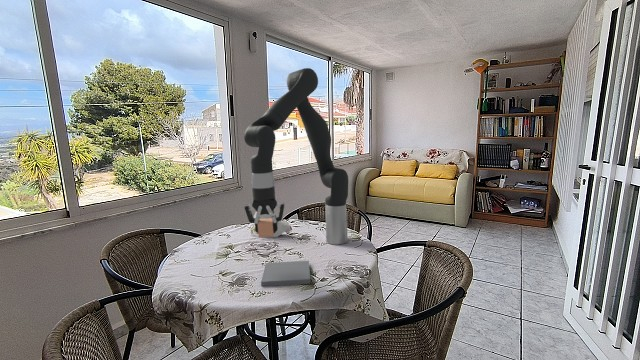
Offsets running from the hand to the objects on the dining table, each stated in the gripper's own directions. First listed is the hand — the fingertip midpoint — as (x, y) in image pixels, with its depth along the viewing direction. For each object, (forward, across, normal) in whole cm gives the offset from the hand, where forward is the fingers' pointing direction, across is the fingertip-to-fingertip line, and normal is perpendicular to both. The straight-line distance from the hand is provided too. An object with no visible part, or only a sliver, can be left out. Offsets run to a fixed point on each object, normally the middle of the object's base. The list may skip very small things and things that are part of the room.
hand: (266, 232), depth 105 cm
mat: (+15, -6, +3) cm, 16 cm away
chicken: (+15, +4, -38) cm, 41 cm away
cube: (+1, 0, 0) cm, 1 cm away
